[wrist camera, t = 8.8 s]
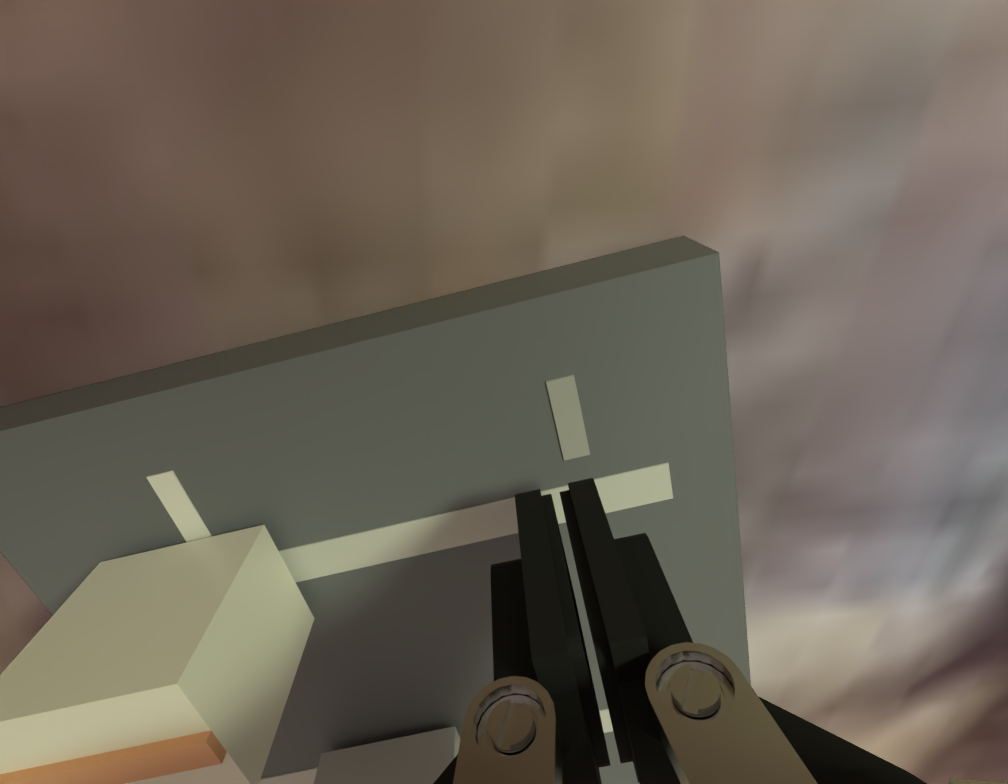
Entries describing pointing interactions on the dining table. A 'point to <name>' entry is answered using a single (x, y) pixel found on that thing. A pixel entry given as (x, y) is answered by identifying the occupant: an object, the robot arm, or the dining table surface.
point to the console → (409, 476)
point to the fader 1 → (159, 670)
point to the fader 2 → (391, 760)
